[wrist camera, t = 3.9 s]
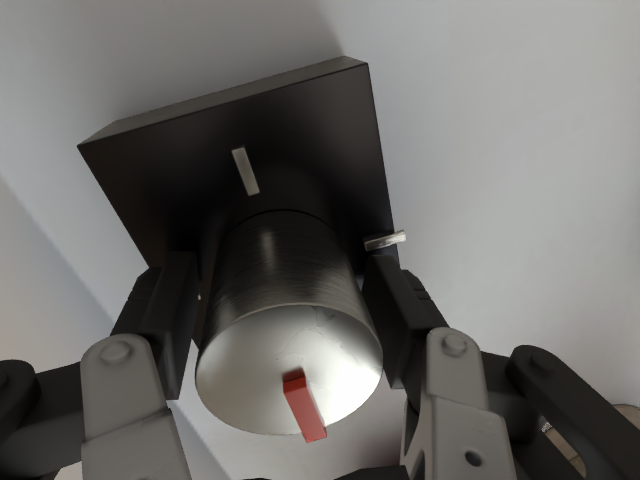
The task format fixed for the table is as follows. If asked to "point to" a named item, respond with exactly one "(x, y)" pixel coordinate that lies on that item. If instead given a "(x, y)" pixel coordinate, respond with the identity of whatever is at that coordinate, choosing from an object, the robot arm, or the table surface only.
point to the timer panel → (251, 167)
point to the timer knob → (286, 330)
